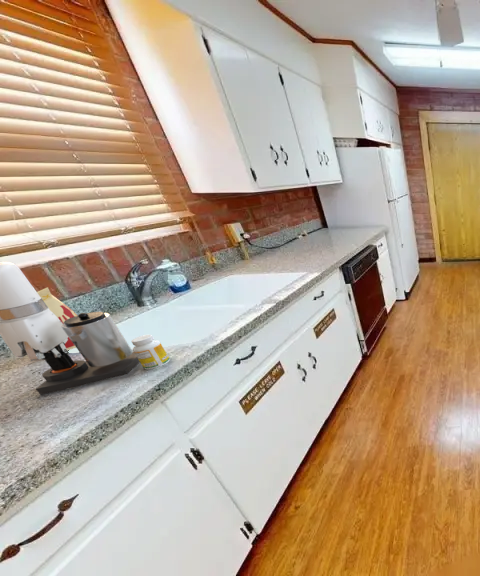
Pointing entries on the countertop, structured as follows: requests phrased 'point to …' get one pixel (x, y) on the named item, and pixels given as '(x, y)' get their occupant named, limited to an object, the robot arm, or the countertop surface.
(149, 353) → the supplement bottle
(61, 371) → the power button
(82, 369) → the push button panel
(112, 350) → the kettle
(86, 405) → the countertop surface
